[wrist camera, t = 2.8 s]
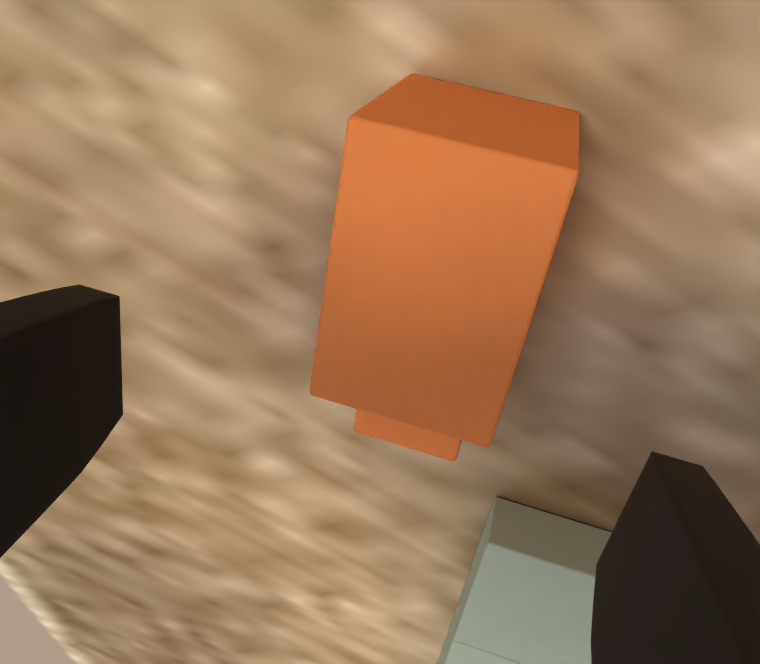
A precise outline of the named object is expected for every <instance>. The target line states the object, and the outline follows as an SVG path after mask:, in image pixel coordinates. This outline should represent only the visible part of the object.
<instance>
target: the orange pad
mask: <svg viewBox="0 0 760 664" xmlns="http://www.w3.org/2000/svg"><path fill="white" fill-rule="evenodd" d="M579 144H580V113H579V112H577V111H573V110H569V109H565V108H560V107H556V106H551V105H547V104H543V103H538V102H534V101H530V100H525V99H521V98H516V97H512V96H508V95H503V94H499V93H494V92H490V91H486V90H481V89H477V88H473V87H468V86H464V85H459V84H455V83H451V82H446V81H442V80H437V79H433V78H429V77H424V76H420V75H416V74H410V75H409V76H407V77H406V78H404V79H403V80H401V81H400V82H398V83H397V84H396V85H394V86H393V87H391V88H390V89H388V90H387V91H386V92H384V93H383V94H381V95H380V96H378V97H377V98H375V99H374V100H373V101H371V102H370V103H368V104H367V105H365V106H364V107H363V108H361V109H360V110H358V111H357V112H355V113H354V114H352V115H351V116H350V117H349V119H348V125H347V132H346V139H345V146H344V153H343V160H342V167H341V174H340V181H339V188H338V195H337V202H336V209H335V216H334V223H333V230H332V237H331V244H330V251H329V258H328V265H327V272H326V279H325V286H324V293H323V300H322V307H321V314H320V321H319V328H318V335H317V342H316V349H315V356H314V363H313V370H312V377H311V384H310V394H311V395H313V396H316V397H319V398H323V399H326V400H329V401H333V402H336V403H339V404H343V405H346V406H349V407H353V408H356V409H357V412H356V418H355V423H354V431H355V432H358V433H361V434H365V435H368V436H371V437H375V438H378V439H381V440H384V441H388V442H391V443H394V444H398V445H401V446H404V447H408V448H411V449H414V450H417V451H421V452H424V453H427V454H431V455H434V456H437V457H440V458H444V459H447V460H450V461H455V460H456V458H457V454H458V451H459V448H460V444H461V441H462V440H463V441H467V442H470V443H473V444H477V445H480V446H483V447H489V446H490V445H491V443H492V440H493V436H494V433H495V430H496V427H497V424H498V421H499V418H500V415H501V412H502V409H503V406H504V403H505V400H506V397H507V394H508V391H509V388H510V385H511V381H512V378H513V375H514V372H515V369H516V366H517V363H518V360H519V357H520V354H521V351H522V348H523V345H524V342H525V339H526V336H527V333H528V330H529V326H530V323H531V320H532V317H533V314H534V311H535V308H536V305H537V302H538V299H539V296H540V293H541V290H542V287H543V284H544V281H545V278H546V275H547V271H548V268H549V265H550V262H551V259H552V256H553V253H554V250H555V247H556V244H557V241H558V238H559V235H560V232H561V229H562V226H563V223H564V219H565V216H566V213H567V210H568V207H569V204H570V201H571V198H572V195H573V192H574V189H575V186H576V183H577V180H578V177H579Z"/></svg>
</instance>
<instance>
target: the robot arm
mask: <svg viewBox="0 0 760 664" xmlns="http://www.w3.org/2000/svg"><path fill="white" fill-rule="evenodd" d="M122 415H123V402H122V368H121V334H120V299H119V296H117V295H113V294H110V293H106V292H103V291H100V290H96V289H93V288H89V287H86V286H82V285H75V286H69V287H63V288H58V289H53V290H48V291H44V292H40V293H36V294H31V295H27V296H23V297H20V298H16V299H12V300H8V301H4V302H0V558H1V556H2V555H3V554H4V553H5V552H6V551H7V550H8V549H9V548H10V547H11V546H12V545H13V544H14V543H15V542H16V541H17V540H18V539H19V538H20V537H21V536H22V535H23V534H24V533H25V531H26V530H27V529H28V528H29V527H30V526H31V525H32V524H33V523H34V522H35V521H36V520H37V519H38V518H39V517H40V516H41V515H42V514H43V513H44V512H45V511H46V509H47V508H48V507H49V506H50V505H51V504H52V503H53V502H54V501H55V500H56V499H57V498H58V497H59V496H60V495H61V494H62V492H63V491H64V490H65V489H66V488H67V487H68V486H69V485H70V484H71V483H72V482H73V481H74V480H75V478H76V477H77V476H78V475H79V474H80V473H81V472H82V471H83V469H84V468H85V467H86V465H87V464H88V463H89V461H90V460H91V459H92V457H93V456H94V455H95V453H96V452H97V451H98V449H99V448H100V447H101V445H102V444H103V442H104V441H105V440H106V438H107V437H108V435H109V434H110V432H111V431H112V429H113V428H114V427H115V425H116V424H117V422H118V421H119V419H120V418H121V416H122ZM591 663H592V664H760V544H759V543H758V542H757V540H756V539H755V537H754V536H753V535H752V533H751V532H750V530H749V529H748V528H747V526H746V525H745V523H744V522H743V521H742V519H741V518H740V516H739V515H738V513H737V512H736V511H735V509H734V508H733V506H732V505H731V504H730V502H729V501H728V499H727V498H726V497H725V495H724V494H723V492H722V491H721V490H720V488H719V487H718V486H717V484H716V483H715V482H714V480H713V479H712V478H711V476H710V475H709V474H708V472H707V471H706V470H705V469H704V467H703V466H700V465H697V464H694V463H690V462H687V461H683V460H680V459H676V458H673V457H670V456H666V455H663V454H659V453H656V452H651V454H650V456H649V458H648V460H647V462H646V464H645V466H644V468H643V470H642V472H641V474H640V476H639V478H638V480H637V482H636V484H635V486H634V488H633V491H632V493H631V495H630V497H629V499H628V501H627V503H626V505H625V507H624V509H623V511H622V513H621V515H620V517H619V519H618V521H617V523H616V525H615V527H614V529H613V531H612V533H611V535H610V538H609V540H608V542H607V544H606V546H605V548H604V550H603V552H602V554H601V556H600V558H599V560H598V562H597V564H596V575H595V586H594V598H593V611H592V626H591Z"/></svg>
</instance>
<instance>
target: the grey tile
mask: <svg viewBox="0 0 760 664" xmlns="http://www.w3.org/2000/svg"><path fill="white" fill-rule="evenodd" d="M611 533H612V532H609V531H605V530H602V529H599V528H596V527H592V526H589V525H586V524H583V523H579V522H576V521H573V520H570V519H566V518H563V517H560V516H557V515H553V514H550V513H547V512H544V511H540V510H537V509H534V508H531V507H527V506H524V505H521V504H518V503H514V502H511V501H508V500H505V499H501V498H498V497H496V498H495V499H494V502H493V505H492V508H491V511H490V514H489V516H488V519H487V522H486V525H485V528H484V531H483V534H482V536H481V539H480V542H479V545H478V548H477V551H476V554H475V556H474V559H473V562H472V565H471V568H470V571H469V574H468V576H467V579H466V582H465V585H464V588H463V591H462V594H461V597H460V600H459V602H458V605H457V608H456V611H455V614H454V617H453V620H452V622H451V625H450V628H449V631H448V634H447V637H446V640H445V642H444V645H443V648H442V651H441V654H440V657H439V660H438V663H437V664H592V663H591V626H592V611H593V598H594V586H595V575H596V564H597V562H598V560H599V558H600V556H601V554H602V552H603V550H604V548H605V546H606V544H607V542H608V540H609V538H610V535H611Z"/></svg>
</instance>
